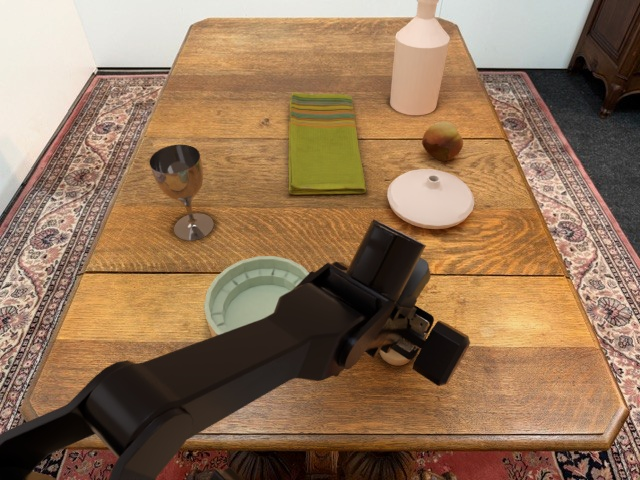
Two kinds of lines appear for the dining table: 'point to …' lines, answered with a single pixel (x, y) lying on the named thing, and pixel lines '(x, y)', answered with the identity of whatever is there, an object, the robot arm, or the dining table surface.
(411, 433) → the dining table surface
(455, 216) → the flat round vase
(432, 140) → the fruit
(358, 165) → the dish towel
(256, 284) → the bowl
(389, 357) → the beige piece
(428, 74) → the bottle
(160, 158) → the wine glass
